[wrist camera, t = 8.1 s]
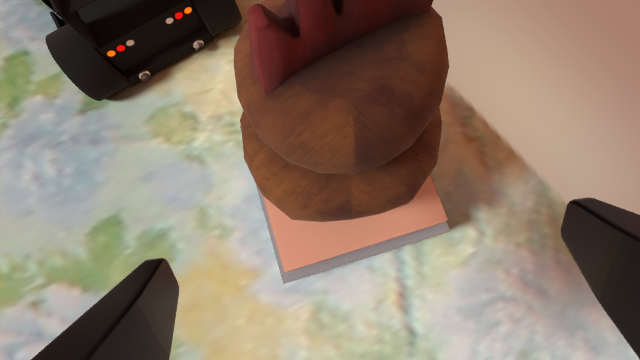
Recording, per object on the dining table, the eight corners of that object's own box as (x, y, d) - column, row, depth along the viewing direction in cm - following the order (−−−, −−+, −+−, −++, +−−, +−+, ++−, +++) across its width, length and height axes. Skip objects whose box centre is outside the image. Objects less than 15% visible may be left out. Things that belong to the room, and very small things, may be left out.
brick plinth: (440, 233, 21) (462, 227, 17) (288, 281, 21) (277, 286, 17) (387, 94, 23) (396, 60, 19) (248, 137, 23) (229, 112, 19)
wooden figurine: (398, 104, 19) (607, -452, 4) (420, 218, 17) (829, -6, 3) (265, 124, 19) (12, -349, 4) (277, 237, 18) (-25, 119, 3)
